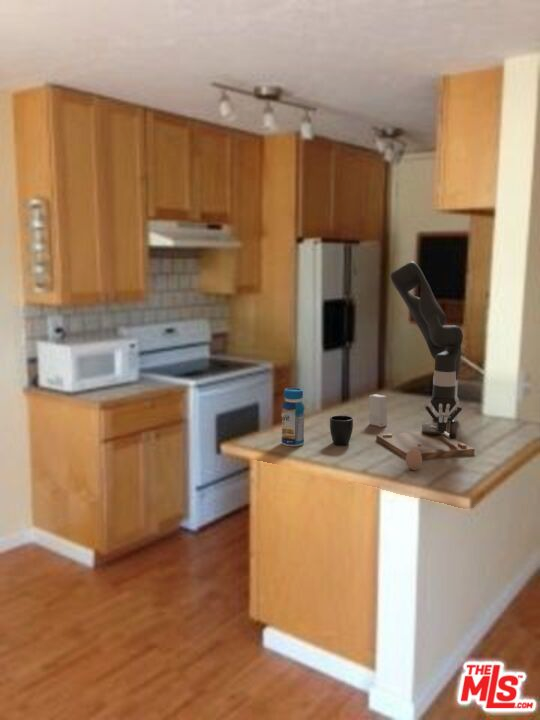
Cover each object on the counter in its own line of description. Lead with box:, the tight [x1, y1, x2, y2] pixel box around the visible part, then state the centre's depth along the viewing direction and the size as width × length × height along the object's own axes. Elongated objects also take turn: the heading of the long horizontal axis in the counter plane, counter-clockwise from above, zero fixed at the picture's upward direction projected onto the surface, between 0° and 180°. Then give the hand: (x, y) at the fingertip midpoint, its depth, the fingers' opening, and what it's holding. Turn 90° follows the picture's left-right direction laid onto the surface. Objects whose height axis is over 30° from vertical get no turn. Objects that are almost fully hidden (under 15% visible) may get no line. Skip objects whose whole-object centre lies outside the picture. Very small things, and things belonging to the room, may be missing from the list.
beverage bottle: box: [280, 387, 306, 447], centre depth 241 cm, size 8×8×20 cm
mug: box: [329, 414, 354, 447], centre depth 244 cm, size 8×12×10 cm
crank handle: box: [421, 420, 458, 440], centre depth 244 cm, size 22×9×8 cm, turn 10°
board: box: [375, 430, 476, 460], centre depth 239 cm, size 25×25×3 cm
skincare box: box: [368, 393, 388, 428], centre depth 268 cm, size 6×4×12 cm
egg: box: [405, 449, 423, 471], centre depth 214 cm, size 5×5×7 cm
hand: (441, 432), depth 234 cm, fingers closed
